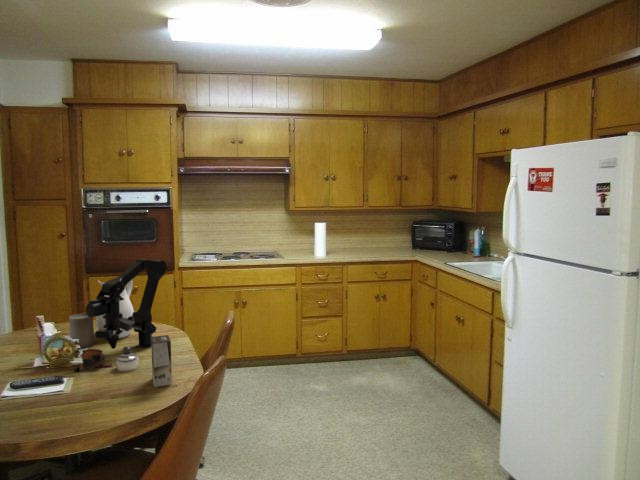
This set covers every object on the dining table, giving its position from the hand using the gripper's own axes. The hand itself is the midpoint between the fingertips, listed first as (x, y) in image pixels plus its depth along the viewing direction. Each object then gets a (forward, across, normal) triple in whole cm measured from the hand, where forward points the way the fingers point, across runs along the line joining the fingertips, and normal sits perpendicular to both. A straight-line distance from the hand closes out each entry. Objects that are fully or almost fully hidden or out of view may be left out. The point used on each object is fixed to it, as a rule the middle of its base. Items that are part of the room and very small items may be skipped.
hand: (113, 348), depth 207 cm
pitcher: (+4, +31, +13) cm, 34 cm away
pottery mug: (+4, -13, +2) cm, 13 cm away
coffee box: (+4, -24, -31) cm, 39 cm away
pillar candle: (+4, +12, +21) cm, 24 cm away
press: (+3, -11, -12) cm, 17 cm away
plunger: (-1, -12, -12) cm, 17 cm away
